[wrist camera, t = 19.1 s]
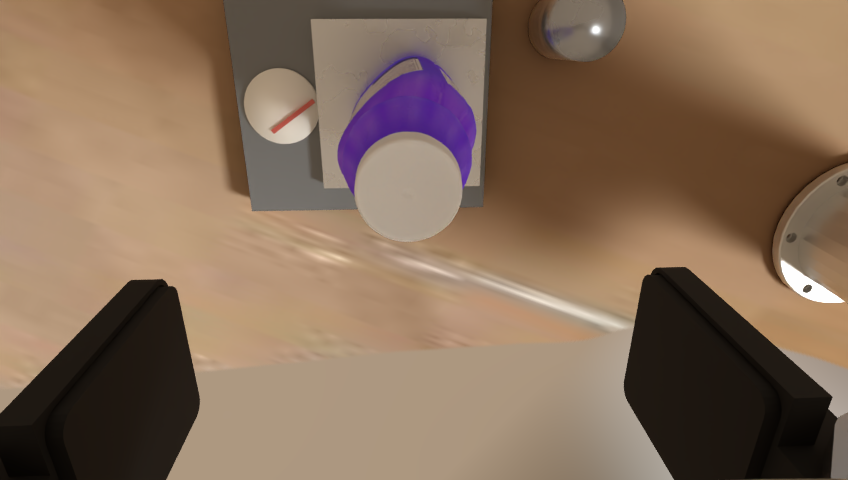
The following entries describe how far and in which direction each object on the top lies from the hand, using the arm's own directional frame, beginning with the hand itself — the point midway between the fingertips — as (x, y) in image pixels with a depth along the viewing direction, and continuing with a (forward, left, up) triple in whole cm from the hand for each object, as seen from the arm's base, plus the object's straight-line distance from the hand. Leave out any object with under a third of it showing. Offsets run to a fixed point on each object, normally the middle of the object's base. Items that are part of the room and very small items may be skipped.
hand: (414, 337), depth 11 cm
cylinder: (-11, -5, -30) cm, 33 cm away
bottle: (0, 0, -27) cm, 27 cm away
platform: (0, 0, -28) cm, 28 cm away
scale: (+2, 0, -30) cm, 30 cm away
